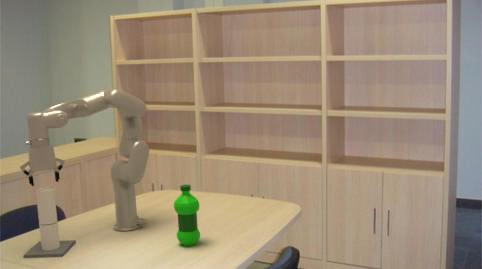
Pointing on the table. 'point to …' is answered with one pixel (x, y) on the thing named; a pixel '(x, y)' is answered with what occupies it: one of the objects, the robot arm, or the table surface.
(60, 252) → the charcoal mat
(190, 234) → the plastic bottle
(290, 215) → the table surface
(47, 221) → the cylindrical container
